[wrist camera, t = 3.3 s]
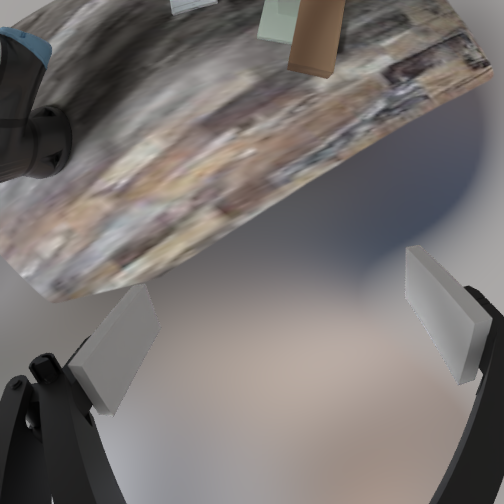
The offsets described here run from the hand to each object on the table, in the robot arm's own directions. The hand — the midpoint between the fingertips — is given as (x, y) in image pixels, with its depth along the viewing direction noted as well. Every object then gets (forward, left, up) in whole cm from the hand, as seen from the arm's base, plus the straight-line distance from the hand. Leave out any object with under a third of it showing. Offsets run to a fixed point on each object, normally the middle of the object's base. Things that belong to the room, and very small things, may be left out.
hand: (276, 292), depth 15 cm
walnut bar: (+8, +23, -10) cm, 26 cm away
